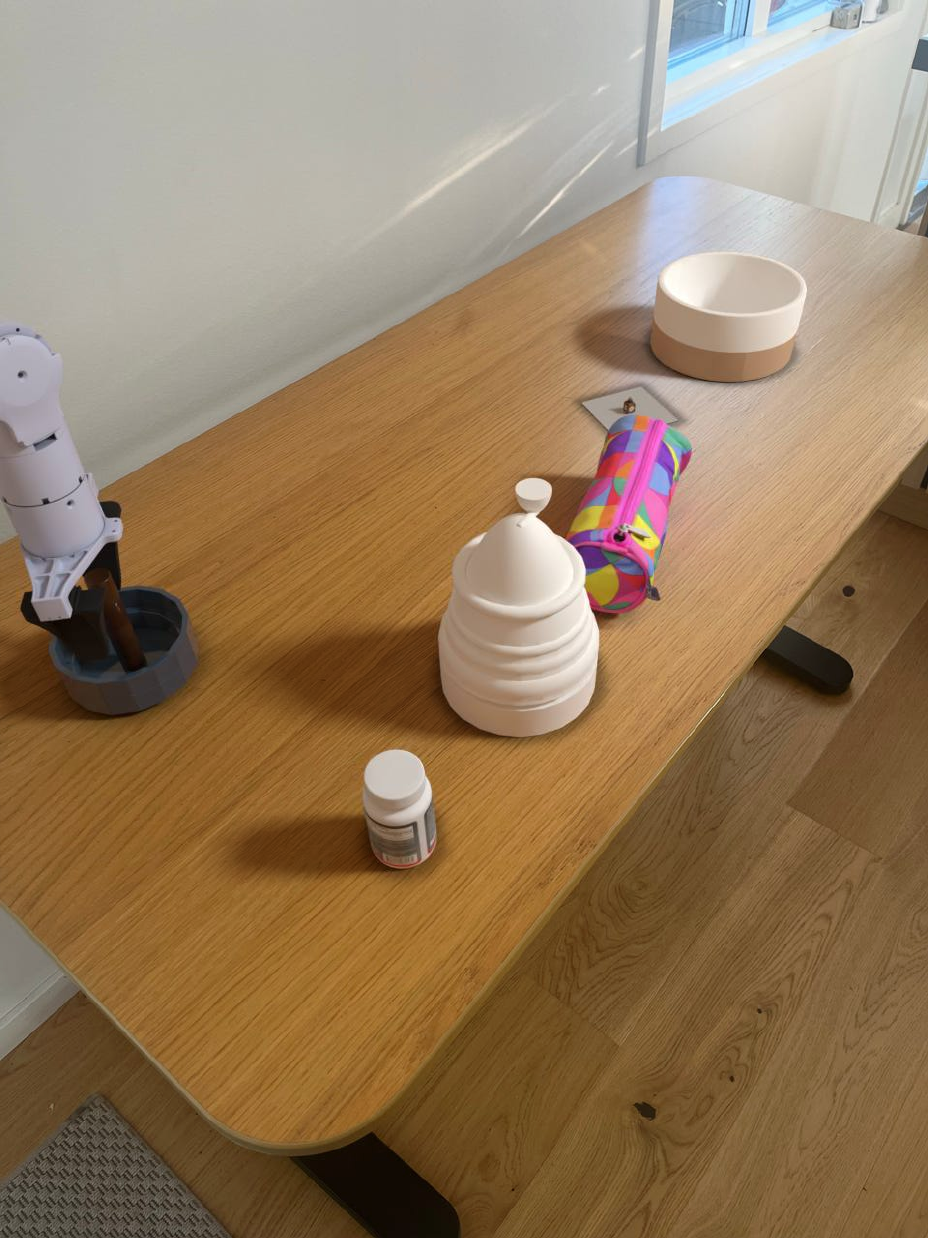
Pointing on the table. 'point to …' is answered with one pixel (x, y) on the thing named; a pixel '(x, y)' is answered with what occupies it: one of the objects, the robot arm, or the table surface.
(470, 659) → the honey pot
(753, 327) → the bowl
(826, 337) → the table surface
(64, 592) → the robot arm
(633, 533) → the pencil case
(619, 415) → the grey flat square sheet
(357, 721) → the table surface
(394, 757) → the pill bottle
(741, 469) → the table surface
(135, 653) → the stirring stick
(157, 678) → the mixing bowl
